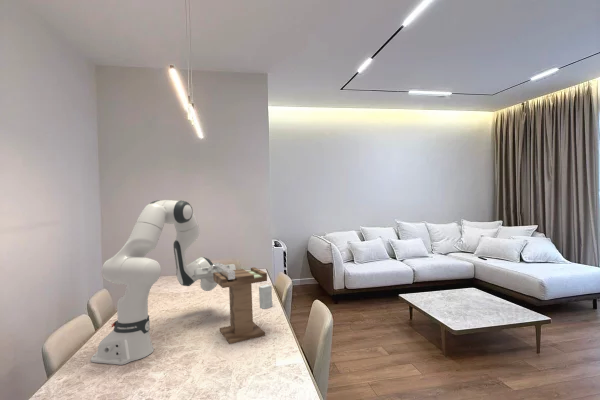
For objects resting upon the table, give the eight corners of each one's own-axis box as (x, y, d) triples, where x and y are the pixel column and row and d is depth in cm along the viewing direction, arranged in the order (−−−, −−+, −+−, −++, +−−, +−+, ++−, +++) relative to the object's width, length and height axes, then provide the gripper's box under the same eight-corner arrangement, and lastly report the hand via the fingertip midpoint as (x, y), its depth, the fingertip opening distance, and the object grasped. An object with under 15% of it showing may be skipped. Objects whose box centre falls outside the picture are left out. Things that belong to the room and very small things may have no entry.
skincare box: (267, 305, 192) (267, 284, 192) (272, 306, 189) (271, 285, 189) (259, 307, 188) (258, 286, 188) (264, 309, 185) (263, 287, 184)
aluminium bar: (213, 269, 165) (213, 263, 165) (219, 268, 166) (219, 262, 166) (228, 279, 142) (228, 272, 142) (235, 278, 143) (235, 271, 143)
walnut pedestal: (215, 332, 155) (213, 272, 155) (256, 323, 164) (254, 267, 164) (224, 345, 141) (222, 279, 141) (269, 334, 150) (266, 273, 150)
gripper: (191, 272, 170) (195, 262, 159) (230, 267, 179) (237, 257, 168) (192, 284, 167) (196, 275, 156) (232, 278, 176) (239, 269, 166)
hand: (218, 265), depth 162 cm, fingers closed on aluminium bar, 3 cm apart
